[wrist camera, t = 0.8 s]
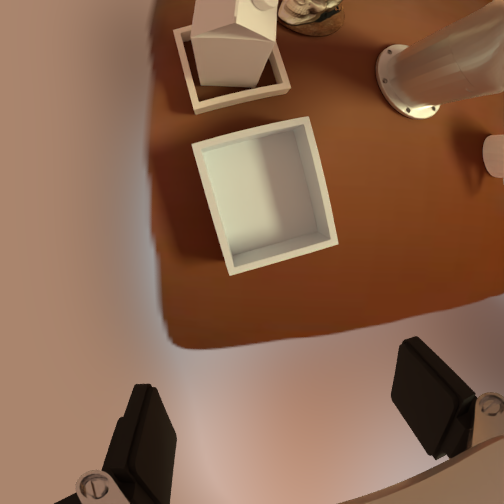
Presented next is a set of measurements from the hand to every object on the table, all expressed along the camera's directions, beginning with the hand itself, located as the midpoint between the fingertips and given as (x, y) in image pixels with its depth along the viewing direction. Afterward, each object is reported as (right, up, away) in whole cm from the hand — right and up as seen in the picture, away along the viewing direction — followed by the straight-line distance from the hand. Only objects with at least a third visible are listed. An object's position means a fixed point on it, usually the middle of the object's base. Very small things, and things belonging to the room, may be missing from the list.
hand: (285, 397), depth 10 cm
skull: (+7, +41, +22) cm, 47 cm away
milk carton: (-4, +30, +24) cm, 38 cm away
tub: (0, +13, +28) cm, 31 cm away
